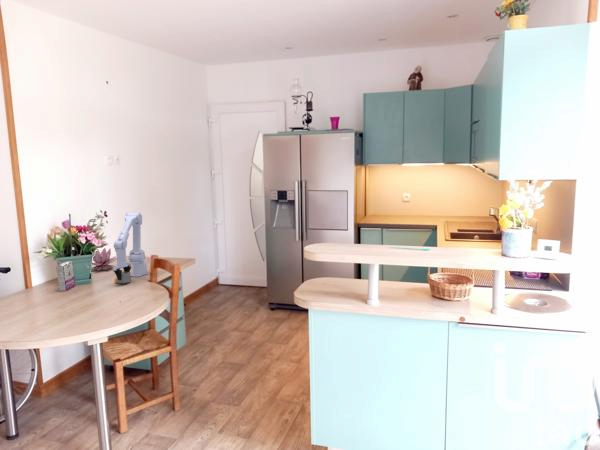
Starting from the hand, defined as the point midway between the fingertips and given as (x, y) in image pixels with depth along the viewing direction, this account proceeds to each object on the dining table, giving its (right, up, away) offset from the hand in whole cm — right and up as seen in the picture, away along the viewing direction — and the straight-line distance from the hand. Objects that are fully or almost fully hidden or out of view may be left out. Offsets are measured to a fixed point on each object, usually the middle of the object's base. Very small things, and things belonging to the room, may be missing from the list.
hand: (123, 278), depth 291 cm
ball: (-5, -1, +2) cm, 5 cm away
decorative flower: (-31, +2, +39) cm, 50 cm away
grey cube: (0, -2, 0) cm, 2 cm away
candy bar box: (-33, -6, -8) cm, 34 cm away
